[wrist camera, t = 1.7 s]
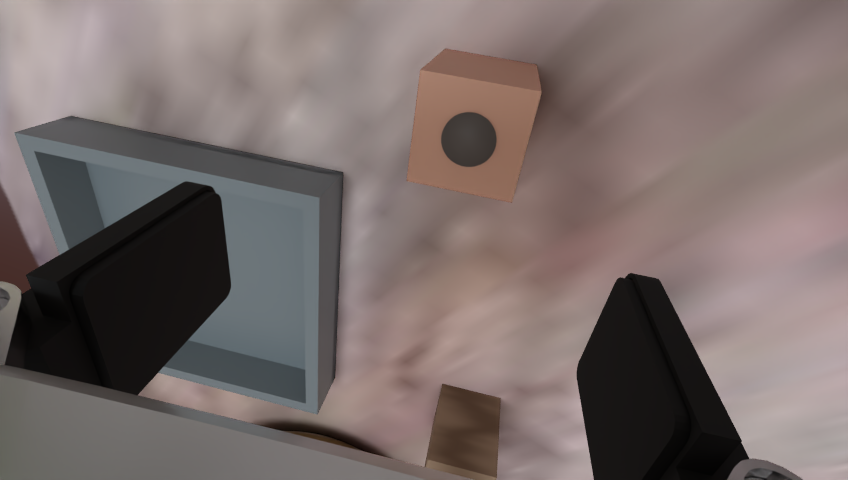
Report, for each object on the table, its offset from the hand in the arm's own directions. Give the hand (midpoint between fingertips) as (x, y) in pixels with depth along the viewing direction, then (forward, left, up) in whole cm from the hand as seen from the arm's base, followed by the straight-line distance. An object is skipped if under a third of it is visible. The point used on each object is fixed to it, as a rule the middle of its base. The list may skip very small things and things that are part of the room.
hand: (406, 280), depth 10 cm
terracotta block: (0, 0, -17) cm, 17 cm away
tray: (+18, +16, -17) cm, 29 cm away
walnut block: (-4, +26, -17) cm, 31 cm away
